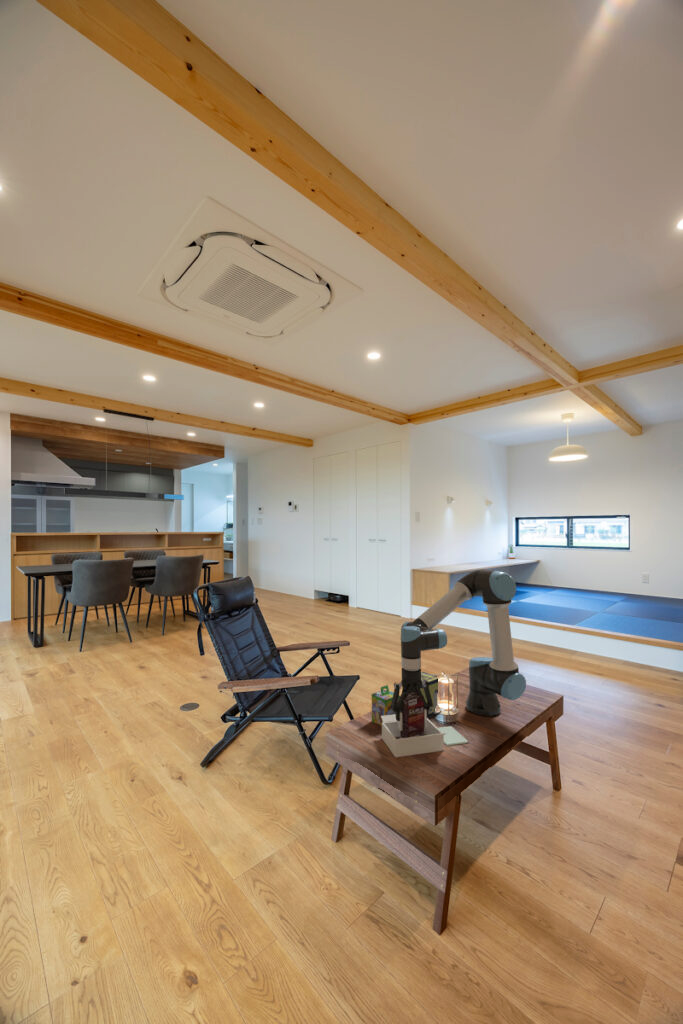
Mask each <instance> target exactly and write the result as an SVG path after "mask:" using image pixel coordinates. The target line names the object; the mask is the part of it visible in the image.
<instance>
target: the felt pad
mask: <svg viewBox="0 0 683 1024" xmlns="http://www.w3.org/2000/svg"><path fill="white" fill-rule="evenodd" d="M437 728H438V729H439V730H440V731H441V732H442V733H443V734H444V733H446V734H445V735H444V744H445V746H447V747H449V746H457V745H463V744H464V745H465V744H469V740H468V739H466V738H465V737H464V736H463V735H462V734H461V733H460V732H459V731H458V730H456V729H455V728H454V727H453V726H452V725H450V726H442V727H441V726H440V727H437Z"/></svg>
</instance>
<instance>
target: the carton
mask: <svg viewBox="0 0 683 1024" xmlns="http://www.w3.org/2000/svg"><path fill="white" fill-rule="evenodd" d="M381 718H382V721H383V723H382V726H381V740H382V741H383V742H384V744H385V745H386V746H387V747H388V749H389V750H390V752H391V753H392V755H393V756H394V758H400V757H407V756H415V755H421V754H429V753H436V752H442V751H445V747H444V746H445V745H444V744H445V743H444V735H445V734H446V733H444V734H443V733H442V732H441V731H440V730H439V729H438V728H439V727H437V726H436V724H434V723H433V722H432V721H431V720H430V719H429V718H427V727H424V736H416V737H409V738H400V729H399V728H398V721H397V720H396V714H394V715H385V716H381Z"/></svg>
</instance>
